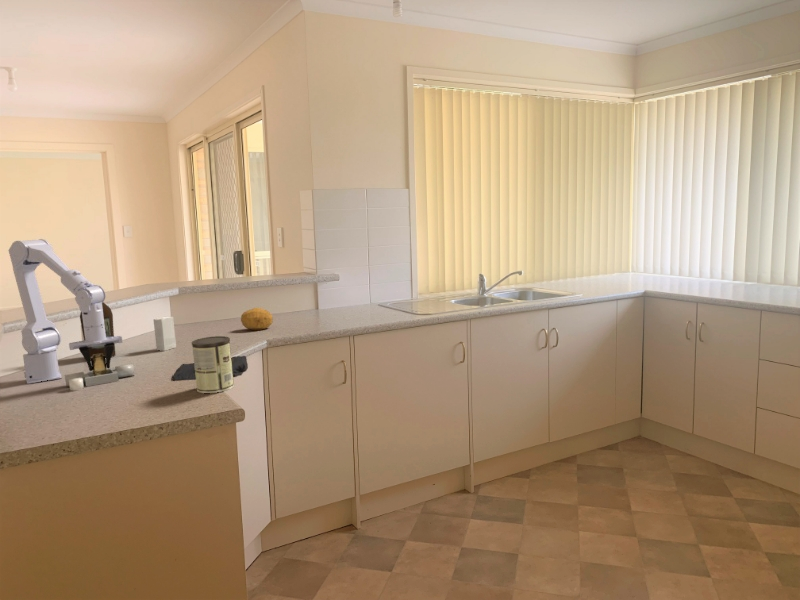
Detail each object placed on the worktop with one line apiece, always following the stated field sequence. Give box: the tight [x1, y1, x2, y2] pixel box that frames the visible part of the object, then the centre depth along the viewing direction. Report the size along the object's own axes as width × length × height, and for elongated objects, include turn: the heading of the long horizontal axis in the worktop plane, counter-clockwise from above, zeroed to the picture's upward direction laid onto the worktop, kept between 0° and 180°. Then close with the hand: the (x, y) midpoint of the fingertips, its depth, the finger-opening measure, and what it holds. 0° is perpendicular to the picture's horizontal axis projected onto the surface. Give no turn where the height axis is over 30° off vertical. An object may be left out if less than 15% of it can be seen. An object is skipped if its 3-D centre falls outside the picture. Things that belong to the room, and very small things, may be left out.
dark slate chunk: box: [172, 355, 249, 382], centre depth 190 cm, size 15×22×5 cm
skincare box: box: [153, 316, 177, 352], centre depth 228 cm, size 6×4×12 cm
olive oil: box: [79, 301, 116, 359], centre depth 219 cm, size 11×11×25 cm
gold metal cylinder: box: [90, 354, 108, 376], centre depth 187 cm, size 4×4×8 cm
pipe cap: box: [68, 378, 84, 392], centre depth 179 cm, size 4×4×3 cm
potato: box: [240, 307, 274, 331], centre depth 260 cm, size 10×13×9 cm
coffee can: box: [191, 335, 235, 394], centre depth 171 cm, size 10×10×14 cm
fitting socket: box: [64, 363, 135, 388], centre depth 187 cm, size 19×9×4 cm, turn 122°
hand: (99, 369), depth 187 cm, fingers open, 4 cm apart
